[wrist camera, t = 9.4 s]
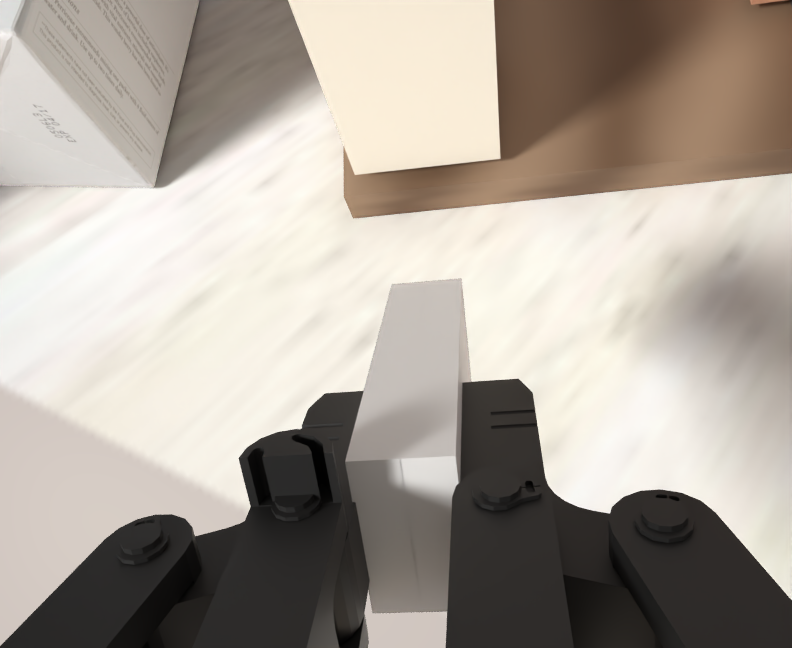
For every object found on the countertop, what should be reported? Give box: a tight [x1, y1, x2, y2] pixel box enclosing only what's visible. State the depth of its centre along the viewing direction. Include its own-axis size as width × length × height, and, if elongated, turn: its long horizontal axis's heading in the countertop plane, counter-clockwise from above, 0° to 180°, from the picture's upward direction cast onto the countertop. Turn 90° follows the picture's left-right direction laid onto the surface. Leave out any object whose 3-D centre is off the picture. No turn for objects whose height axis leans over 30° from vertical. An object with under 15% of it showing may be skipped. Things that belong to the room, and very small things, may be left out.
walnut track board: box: [344, 0, 792, 218], centre depth 28 cm, size 20×14×2 cm
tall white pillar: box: [288, 0, 500, 175], centre depth 22 cm, size 5×5×9 cm
